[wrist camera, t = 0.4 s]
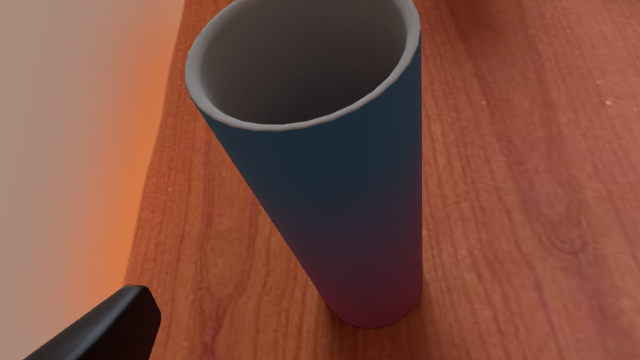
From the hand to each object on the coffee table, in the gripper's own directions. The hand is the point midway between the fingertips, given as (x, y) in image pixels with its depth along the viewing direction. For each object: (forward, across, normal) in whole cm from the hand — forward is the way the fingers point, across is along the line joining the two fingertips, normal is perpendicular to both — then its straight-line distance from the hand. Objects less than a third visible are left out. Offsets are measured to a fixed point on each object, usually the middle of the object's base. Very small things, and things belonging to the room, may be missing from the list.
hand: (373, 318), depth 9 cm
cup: (+12, +3, +12) cm, 18 cm away
